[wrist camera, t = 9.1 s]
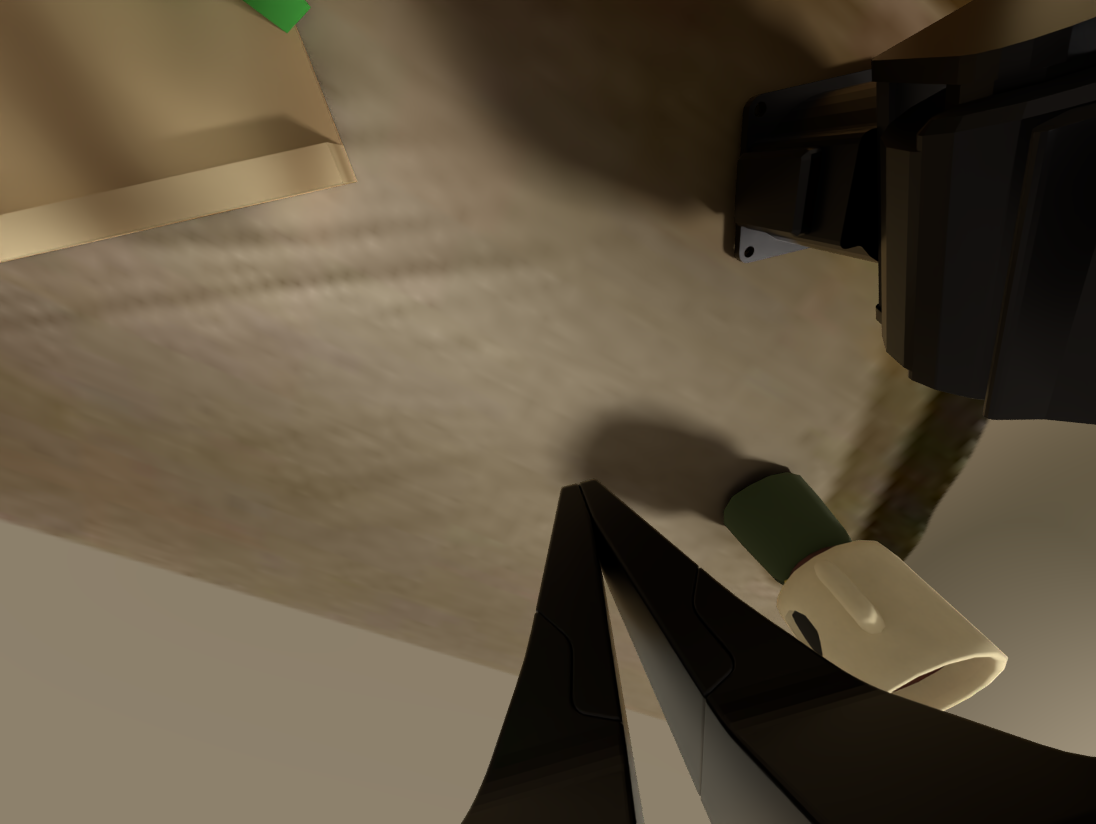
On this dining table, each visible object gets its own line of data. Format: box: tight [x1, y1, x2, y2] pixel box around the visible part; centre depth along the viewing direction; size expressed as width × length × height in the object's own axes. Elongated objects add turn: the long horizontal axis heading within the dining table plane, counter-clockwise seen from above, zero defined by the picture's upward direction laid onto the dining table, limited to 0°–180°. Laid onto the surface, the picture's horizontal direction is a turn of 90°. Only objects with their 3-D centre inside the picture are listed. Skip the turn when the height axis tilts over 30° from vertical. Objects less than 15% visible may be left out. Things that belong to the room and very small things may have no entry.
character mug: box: [724, 472, 1008, 711], centre depth 24 cm, size 11×7×13 cm, turn 40°
